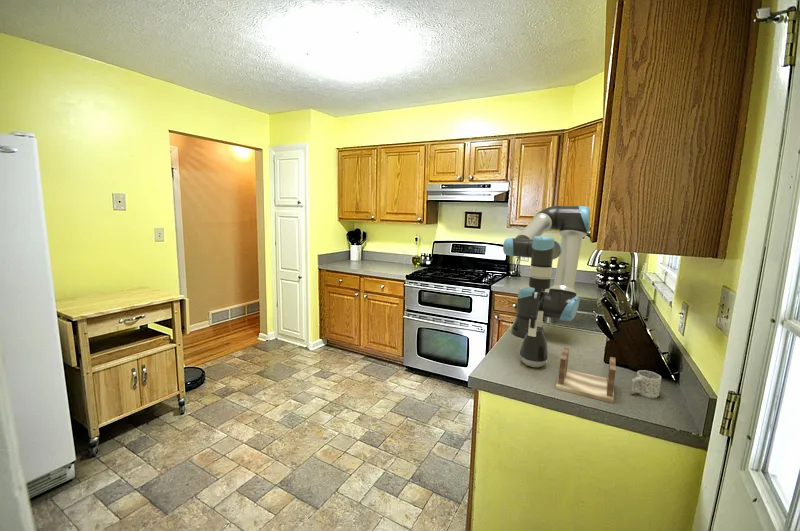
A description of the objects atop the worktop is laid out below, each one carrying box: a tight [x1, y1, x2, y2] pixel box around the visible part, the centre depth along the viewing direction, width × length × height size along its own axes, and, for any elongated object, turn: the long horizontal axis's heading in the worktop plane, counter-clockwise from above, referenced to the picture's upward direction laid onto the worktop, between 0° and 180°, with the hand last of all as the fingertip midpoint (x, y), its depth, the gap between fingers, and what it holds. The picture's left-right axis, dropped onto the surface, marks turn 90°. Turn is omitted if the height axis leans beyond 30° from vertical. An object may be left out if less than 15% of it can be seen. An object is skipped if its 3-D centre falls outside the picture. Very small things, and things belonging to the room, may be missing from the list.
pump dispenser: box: [519, 327, 549, 368], centre depth 139 cm, size 10×10×15 cm
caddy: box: [555, 347, 617, 404], centre depth 123 cm, size 16×17×10 cm
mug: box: [629, 369, 662, 399], centre depth 119 cm, size 10×7×7 cm, turn 102°
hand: (535, 331), depth 138 cm, fingers open, 13 cm apart
